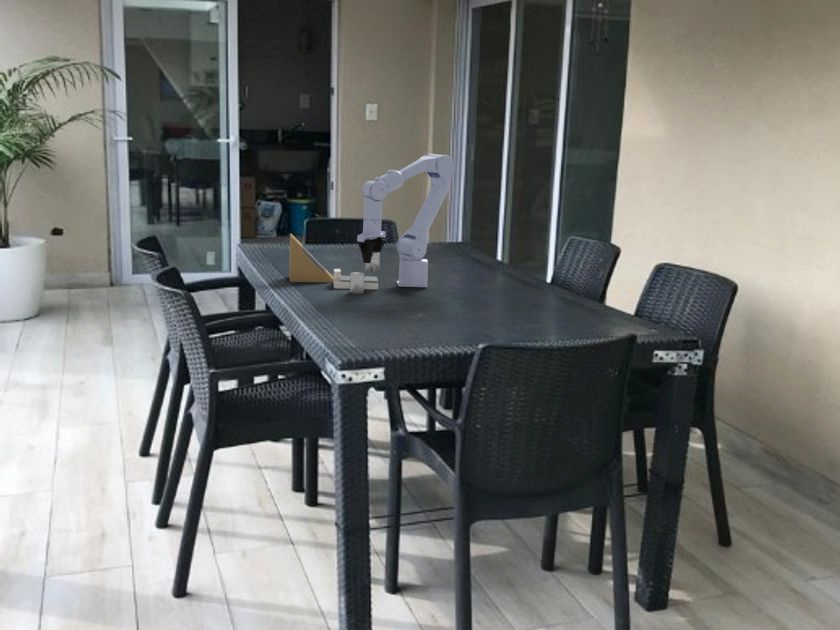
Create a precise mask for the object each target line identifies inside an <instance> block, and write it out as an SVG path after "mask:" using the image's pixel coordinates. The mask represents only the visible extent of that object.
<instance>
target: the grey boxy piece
mask: <svg viewBox="0 0 840 630" xmlns="http://www.w3.org/2000/svg"><path fill="white" fill-rule="evenodd" d="M332 276H333V278H334V280H333V282H332V283H333V289H347V290H348V289H349V290H350V276H351V275H342V271H341V268H333V275H332ZM364 290H379V279H378V277H377V276H365V281H364Z"/></svg>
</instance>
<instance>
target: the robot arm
mask: <svg viewBox="0 0 840 630" xmlns="http://www.w3.org/2000/svg"><path fill="white" fill-rule="evenodd" d="M454 171H455V164H454V160H453V158H452V157H451V156H450V155H448V154H435V153H427V154H425V155H422V156H421V157H419V159H417V160H415V161H413V162H412V163H410V164H409V165H407V166H405V167H403V168H402V169H400V170H399V171H398V170H395V169H388V170H387V171H386V173H385V174H383V175H381V176H376V177H375V178H374V180H367V181H365V182H364V184H363V185H362V188H361V189H360V193H361V196H362V197H363V222H362V223H363V225H362V226H363V227H362V233H360V234H357V239H356V240H357V245H358V247H359V250H360V251H361V256H362V261H363V263H364V264H366V263H370V262H371V256H372V251H378V252H380V254H381V253H382V250H383V247H384V246H385V243H386V240H387V239H386V235H387V233H386V231H383V230H382V217H383V215H382V214H383V200H384V199H385V198H386V196H387V195H388V194H390V193H391V192H394V191H395V190H397V189H398V188H401V187H403V183H404V181H406V180H408V179H411V178H413V177H414V176H416V175H419V174H421V173H423V172H425V173H426V175H427V177H429V179H430V181H431V183H432V186H431V188H430V190H429V192H428V193H427V195H426V198H425V200H424V202H423V204H422V206H421V208H420V210H419V211H418V214H417V215H416V217H415V220H414V222H413V224H412V226H411V227H410V228H409V229H406V230H405V231H404V233H403V235H402V236H401V237H399V238H398V240H397V242H396V245H395V246H396V251H397V252H398V255H399V266H398V268H399V269H398V280H396V284H397V286H398V287H401V288H402V287H406V288H428V281H429V280H428V277H429V275H428V274H429V261H428V259H426V258H424V256H425V255H426V253H427V250H428V249H427V248H428V244H429V242H430V240H429V238H428V233H429V231H430V230H431V226H432V225H433V223H434V221H435V220H436V216H437V215H438V212H439V211H440V209H441V206H443V203H444V200H445V199H446V197H447V195H448V193H449V190H450V189H451V184H452V177H453V175H452V174H453V173H454Z"/></svg>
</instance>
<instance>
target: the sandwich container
mask: <svg viewBox="0 0 840 630" xmlns="http://www.w3.org/2000/svg"><path fill="white" fill-rule="evenodd" d="M288 258H289V262H288V265H289V266H288V279H289V281H290V282H291V283H292V282H293V283H296V282H297V283H333V280H334V278H333V275H332V274H331V272H329V271H328V270H327V268H326V267H324V265H323V264H322V263H320V262H319V261H318V259H317V258H315V257H314V255H313V254H312V253H311V252H310V251H309V250H308V249H307V248H306V247H305V246H304V245H303V243H302V242H300V241H299V240H298V239H297V238H296V237H295V236H294V235H293V234H292V233H289V257H288Z"/></svg>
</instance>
